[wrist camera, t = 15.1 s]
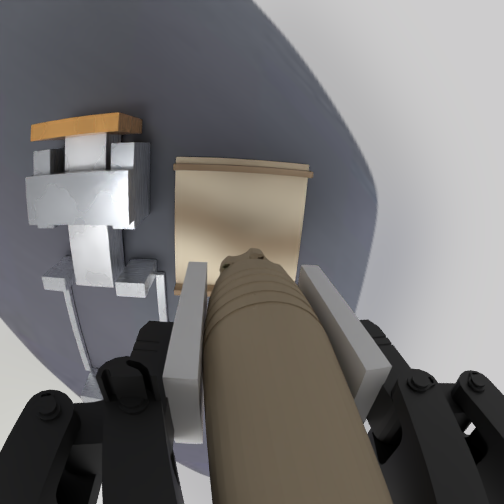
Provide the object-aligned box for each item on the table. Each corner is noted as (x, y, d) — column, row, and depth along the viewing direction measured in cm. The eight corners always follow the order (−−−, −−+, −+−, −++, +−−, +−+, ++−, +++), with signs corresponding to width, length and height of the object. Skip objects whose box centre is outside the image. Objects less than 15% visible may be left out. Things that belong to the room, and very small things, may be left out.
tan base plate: (177, 156, 19) (173, 157, 17) (307, 164, 20) (313, 166, 18) (177, 290, 22) (174, 299, 21) (291, 292, 23) (296, 302, 22)
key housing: (62, 148, 17) (24, 153, 12) (150, 142, 18) (128, 142, 13) (64, 213, 19) (30, 232, 14) (149, 213, 20) (129, 234, 15)
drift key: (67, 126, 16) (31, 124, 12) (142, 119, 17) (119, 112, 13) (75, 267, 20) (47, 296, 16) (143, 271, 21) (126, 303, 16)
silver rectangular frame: (59, 255, 20) (35, 276, 16) (164, 259, 21) (153, 284, 17) (89, 374, 24) (77, 401, 21) (175, 383, 26) (171, 414, 22)
